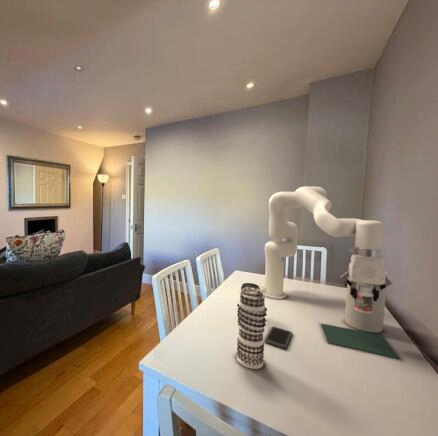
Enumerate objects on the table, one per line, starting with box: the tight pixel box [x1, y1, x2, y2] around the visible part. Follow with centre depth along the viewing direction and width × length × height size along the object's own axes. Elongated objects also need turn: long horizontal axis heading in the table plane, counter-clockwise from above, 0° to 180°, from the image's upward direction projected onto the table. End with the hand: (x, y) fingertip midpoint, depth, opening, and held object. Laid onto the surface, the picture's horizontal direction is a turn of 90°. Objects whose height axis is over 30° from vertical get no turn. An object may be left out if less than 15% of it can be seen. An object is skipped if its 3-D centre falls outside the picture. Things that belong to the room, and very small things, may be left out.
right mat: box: [320, 323, 400, 360], centre depth 97 cm, size 20×16×1 cm
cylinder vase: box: [344, 266, 388, 334], centre depth 106 cm, size 12×12×25 cm
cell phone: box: [264, 326, 293, 350], centre depth 98 cm, size 7×14×1 cm, turn 141°
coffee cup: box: [240, 282, 260, 291], centre depth 115 cm, size 8×8×15 cm
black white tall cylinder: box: [236, 287, 268, 370], centre depth 83 cm, size 9×9×25 cm
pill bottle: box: [354, 284, 374, 313], centre depth 95 cm, size 5×5×10 cm
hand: (363, 298), depth 95 cm, fingers closed on pill bottle, 5 cm apart
